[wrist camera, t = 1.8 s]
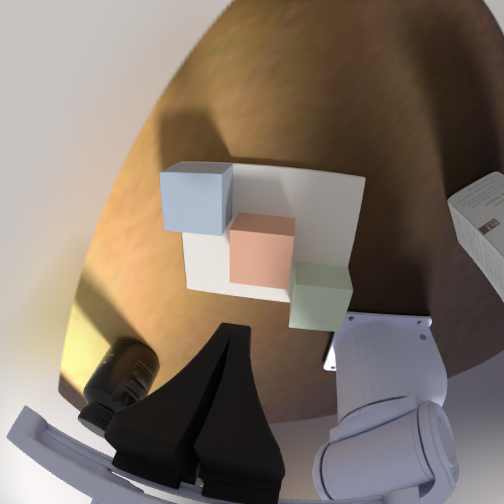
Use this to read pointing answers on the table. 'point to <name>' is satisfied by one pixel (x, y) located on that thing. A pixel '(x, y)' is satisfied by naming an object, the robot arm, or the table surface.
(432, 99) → the table surface
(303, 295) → the sage block
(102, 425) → the supplement bottle
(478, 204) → the skincare box
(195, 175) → the slate block
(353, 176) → the felt mat
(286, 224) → the terracotta block
